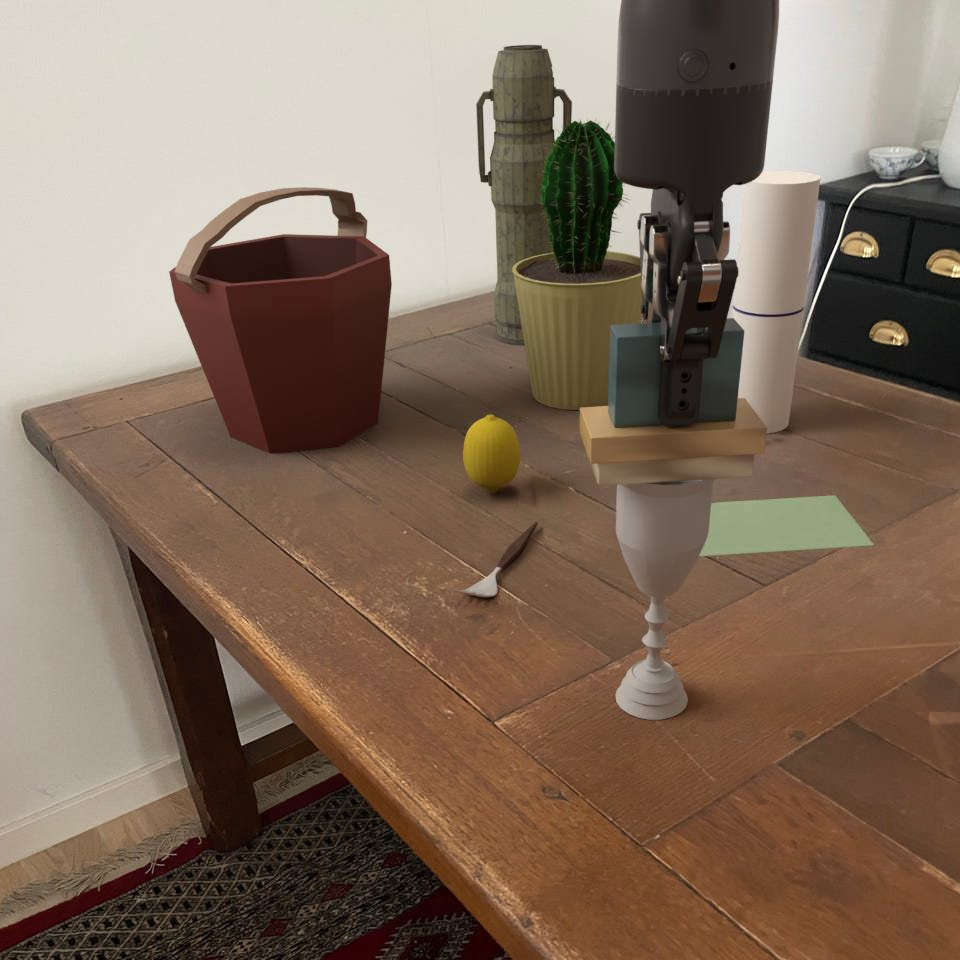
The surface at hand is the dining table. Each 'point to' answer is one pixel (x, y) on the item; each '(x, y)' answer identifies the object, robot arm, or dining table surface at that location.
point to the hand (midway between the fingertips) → (672, 412)
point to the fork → (499, 567)
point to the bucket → (289, 325)
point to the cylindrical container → (773, 287)
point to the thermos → (518, 167)
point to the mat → (781, 526)
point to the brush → (670, 449)
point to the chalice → (659, 578)
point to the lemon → (491, 453)
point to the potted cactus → (576, 274)
